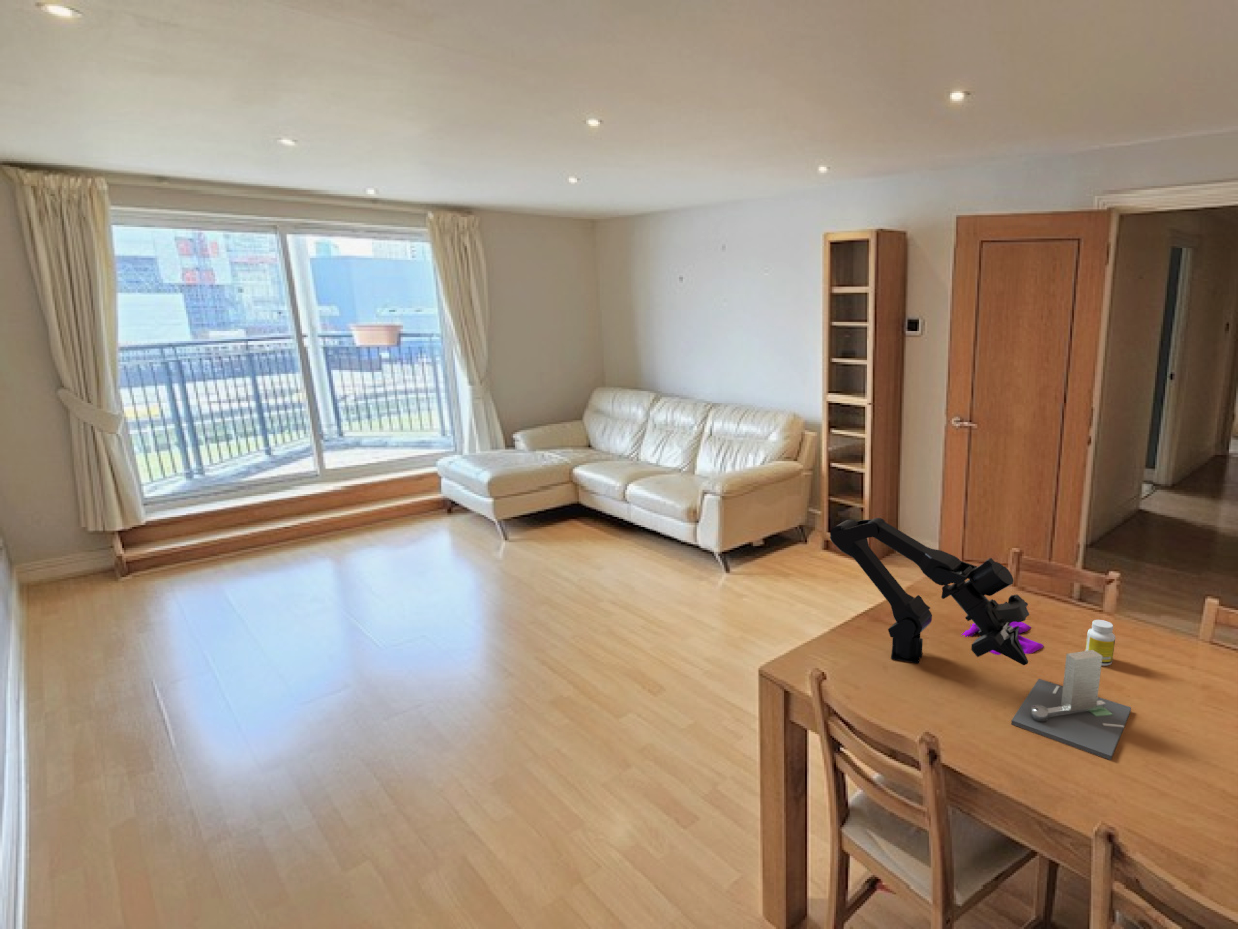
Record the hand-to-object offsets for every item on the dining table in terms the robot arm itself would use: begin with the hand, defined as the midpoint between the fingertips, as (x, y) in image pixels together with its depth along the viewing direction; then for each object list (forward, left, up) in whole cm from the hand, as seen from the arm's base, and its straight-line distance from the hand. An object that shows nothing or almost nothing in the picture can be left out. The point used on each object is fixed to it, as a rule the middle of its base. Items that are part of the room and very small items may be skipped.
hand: (1026, 664), depth 144 cm
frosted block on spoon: (+7, -7, -6) cm, 12 cm away
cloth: (-4, +26, -8) cm, 28 cm away
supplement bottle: (+17, +21, -8) cm, 28 cm away
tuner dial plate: (+8, -6, -8) cm, 13 cm away
